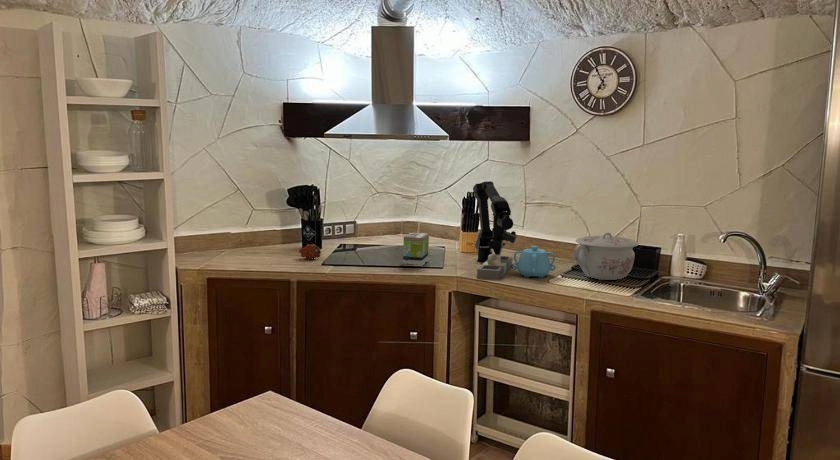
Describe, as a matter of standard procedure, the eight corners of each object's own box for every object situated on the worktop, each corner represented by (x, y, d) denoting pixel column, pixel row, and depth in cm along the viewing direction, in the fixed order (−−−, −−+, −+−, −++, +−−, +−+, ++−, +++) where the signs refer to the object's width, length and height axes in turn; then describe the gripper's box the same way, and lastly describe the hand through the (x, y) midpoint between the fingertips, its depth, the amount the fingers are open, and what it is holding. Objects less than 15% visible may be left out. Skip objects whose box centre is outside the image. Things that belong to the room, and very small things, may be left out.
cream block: (487, 264, 308) (488, 256, 307) (490, 262, 313) (490, 254, 312) (498, 265, 306) (498, 256, 306) (500, 263, 311) (500, 254, 310)
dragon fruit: (321, 263, 333) (300, 265, 338) (326, 251, 339) (306, 253, 344) (314, 251, 328) (293, 253, 333) (319, 239, 334) (299, 241, 338)
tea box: (422, 268, 318) (423, 237, 316) (402, 266, 320) (402, 236, 318) (428, 261, 333) (429, 232, 331) (409, 260, 335) (409, 231, 333)
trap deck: (476, 277, 298) (477, 269, 298) (492, 263, 330) (492, 255, 330) (499, 279, 295) (499, 270, 295) (512, 264, 327) (512, 256, 327)
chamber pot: (634, 273, 311) (636, 229, 308) (639, 286, 285) (642, 239, 282) (572, 269, 317) (574, 226, 314) (572, 282, 291) (574, 236, 288)
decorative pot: (559, 277, 302) (560, 247, 299) (530, 280, 294) (531, 250, 292) (536, 270, 316) (537, 242, 314) (508, 273, 308) (509, 244, 306)
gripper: (512, 230, 305) (511, 263, 307) (519, 224, 322) (518, 255, 325) (488, 229, 308) (487, 261, 311) (496, 223, 326) (495, 254, 328)
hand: (498, 258), depth 319 cm, fingers closed
